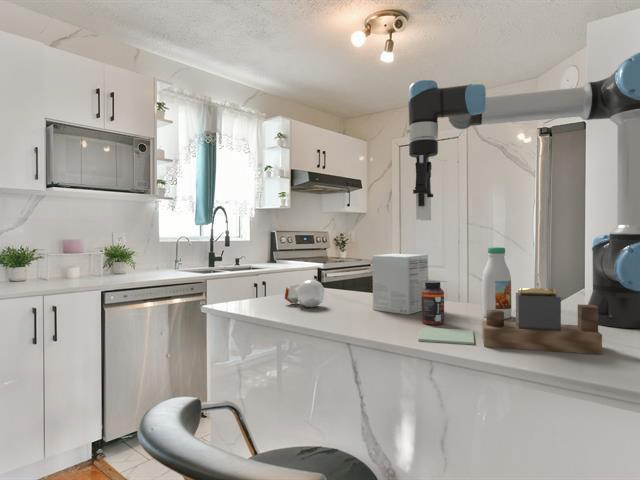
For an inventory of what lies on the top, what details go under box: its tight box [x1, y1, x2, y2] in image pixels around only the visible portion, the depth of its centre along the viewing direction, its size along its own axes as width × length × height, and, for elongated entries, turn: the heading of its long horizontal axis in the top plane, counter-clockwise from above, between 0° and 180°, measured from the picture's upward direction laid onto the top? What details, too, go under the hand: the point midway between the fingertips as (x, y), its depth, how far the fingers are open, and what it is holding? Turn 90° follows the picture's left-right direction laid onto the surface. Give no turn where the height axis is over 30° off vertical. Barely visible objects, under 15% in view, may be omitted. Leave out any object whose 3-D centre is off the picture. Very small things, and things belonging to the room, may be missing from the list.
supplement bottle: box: [421, 280, 445, 326], centre depth 116 cm, size 6×6×11 cm
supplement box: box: [371, 253, 429, 316], centre depth 136 cm, size 13×13×18 cm
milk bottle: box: [481, 246, 512, 320], centre depth 123 cm, size 8×8×20 cm
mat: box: [417, 326, 475, 346], centre depth 102 cm, size 12×12×1 cm
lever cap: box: [515, 287, 562, 331], centre depth 93 cm, size 8×5×8 cm, turn 72°
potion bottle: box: [284, 278, 326, 308], centre depth 145 cm, size 9×10×15 cm
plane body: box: [482, 304, 603, 355], centre depth 93 cm, size 22×8×9 cm, turn 72°
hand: (424, 220), depth 116 cm, fingers open, 13 cm apart
